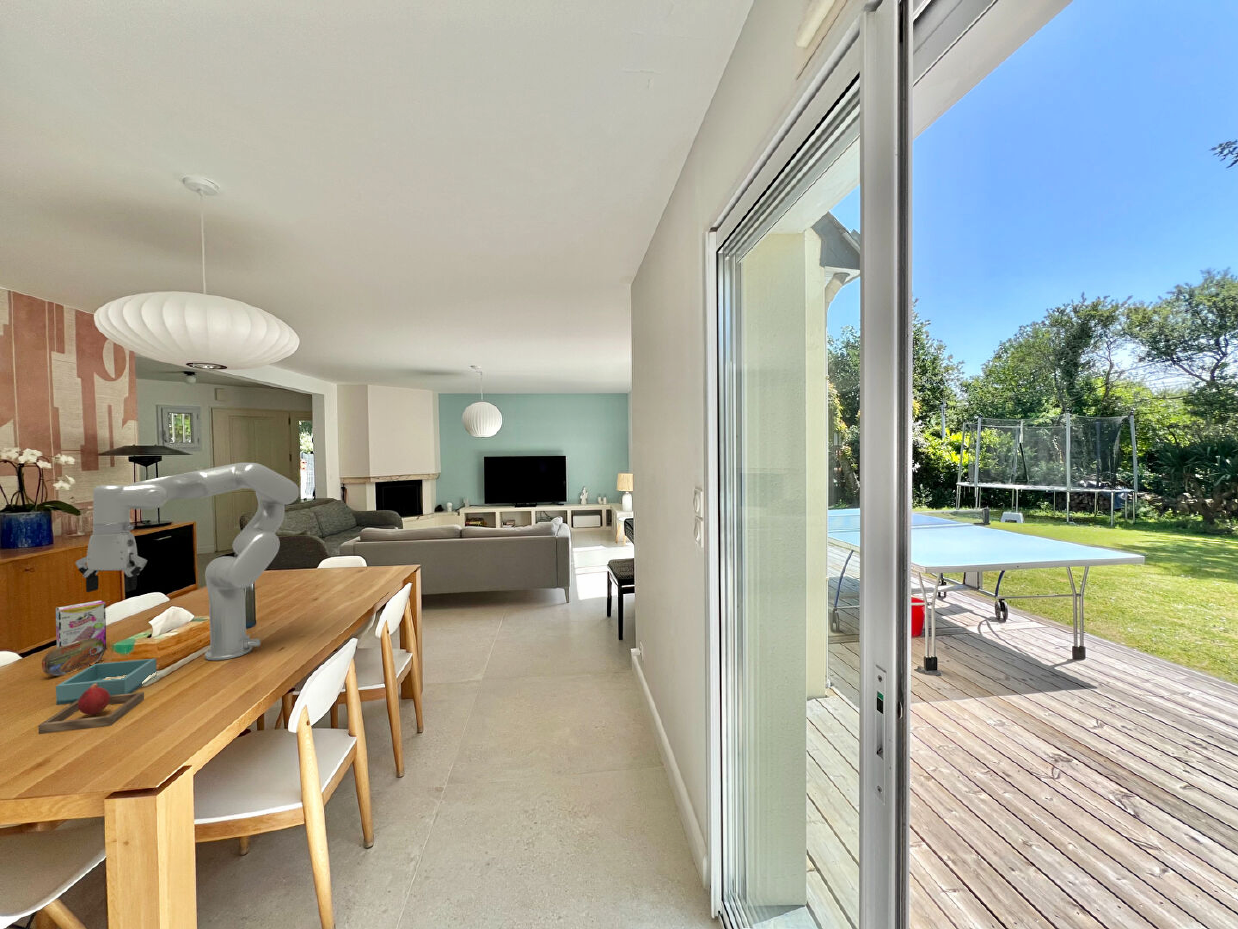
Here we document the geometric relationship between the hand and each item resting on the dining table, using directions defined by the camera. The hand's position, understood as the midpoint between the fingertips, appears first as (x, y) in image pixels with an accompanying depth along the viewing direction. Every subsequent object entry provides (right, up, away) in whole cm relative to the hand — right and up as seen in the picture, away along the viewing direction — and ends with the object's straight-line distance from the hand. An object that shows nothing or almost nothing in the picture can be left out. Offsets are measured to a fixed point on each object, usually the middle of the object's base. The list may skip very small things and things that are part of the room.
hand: (111, 590), depth 152 cm
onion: (+9, -28, -15) cm, 33 cm away
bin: (-1, -28, 0) cm, 28 cm away
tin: (-24, -28, +14) cm, 39 cm away
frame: (+9, -28, -15) cm, 33 cm away
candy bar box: (-33, -27, +26) cm, 50 cm away
